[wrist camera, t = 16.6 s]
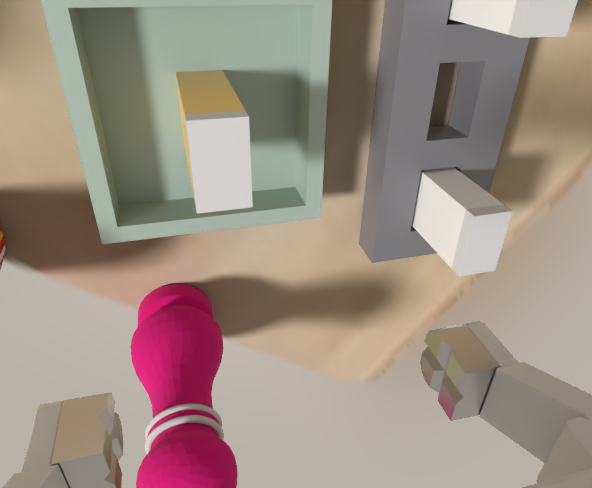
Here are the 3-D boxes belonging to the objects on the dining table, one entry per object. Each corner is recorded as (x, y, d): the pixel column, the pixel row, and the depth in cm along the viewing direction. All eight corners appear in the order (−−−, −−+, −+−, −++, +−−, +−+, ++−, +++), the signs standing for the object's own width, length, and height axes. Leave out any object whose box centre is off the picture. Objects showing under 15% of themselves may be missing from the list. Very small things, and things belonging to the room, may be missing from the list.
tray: (49, -24, 26) (35, -19, 23) (313, -24, 30) (333, -20, 27) (106, 216, 35) (102, 244, 32) (306, 194, 38) (321, 217, 35)
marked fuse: (175, 72, 30) (186, 120, 22) (222, 69, 31) (249, 116, 23) (184, 145, 33) (196, 213, 25) (227, 142, 33) (252, 207, 25)
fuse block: (399, -133, 28) (423, -140, 26) (540, -125, 30) (575, -130, 28) (359, 244, 43) (372, 262, 40) (456, 231, 45) (473, 247, 42)
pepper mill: (119, 331, 41) (100, 587, 25) (152, 267, 38) (156, 507, 22) (195, 349, 44) (222, 584, 28) (230, 292, 42) (283, 515, 26)
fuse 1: (406, 158, 39) (474, 216, 31) (438, 155, 40) (512, 211, 32) (398, 211, 42) (458, 276, 34) (428, 207, 43) (494, 270, 34)
